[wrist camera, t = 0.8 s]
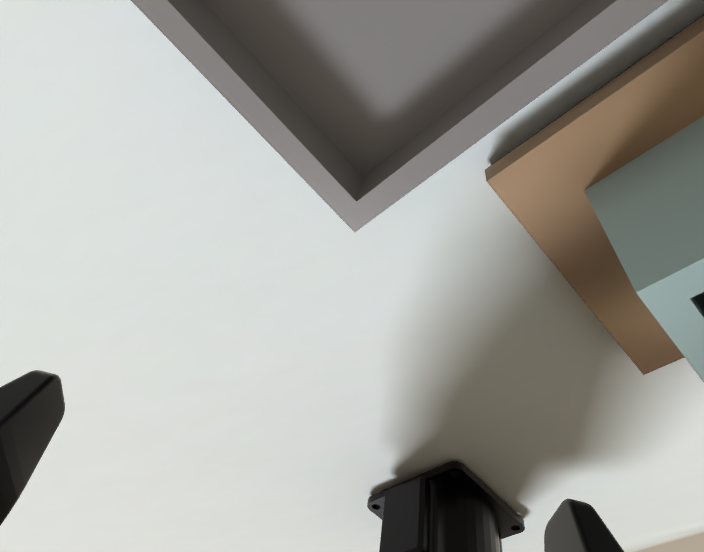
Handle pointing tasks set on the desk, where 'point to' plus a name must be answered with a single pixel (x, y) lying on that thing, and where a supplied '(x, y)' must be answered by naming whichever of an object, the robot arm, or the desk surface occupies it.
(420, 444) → the desk surface
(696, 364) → the sleeve
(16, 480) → the robot arm
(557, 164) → the stake
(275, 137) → the tray
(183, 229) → the desk surface
